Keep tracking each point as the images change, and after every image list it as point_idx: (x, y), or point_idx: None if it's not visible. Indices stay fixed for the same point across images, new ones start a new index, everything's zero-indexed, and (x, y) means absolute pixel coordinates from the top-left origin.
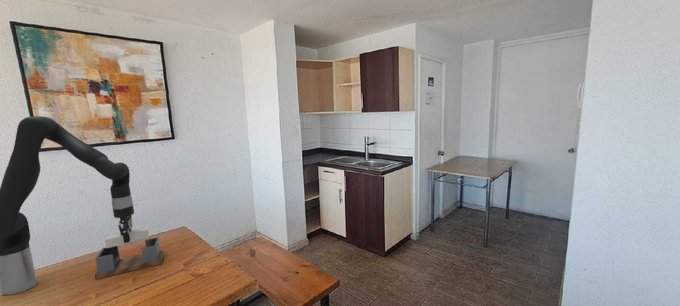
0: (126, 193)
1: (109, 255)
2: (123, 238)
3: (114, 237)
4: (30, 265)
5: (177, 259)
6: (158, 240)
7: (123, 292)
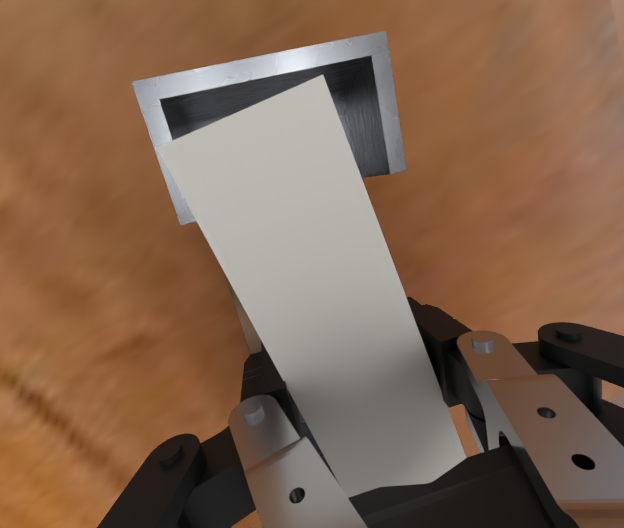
0: None
1: (174, 206)
2: (262, 366)
3: (243, 273)
4: None
5: None
6: None
7: (2, 352)
